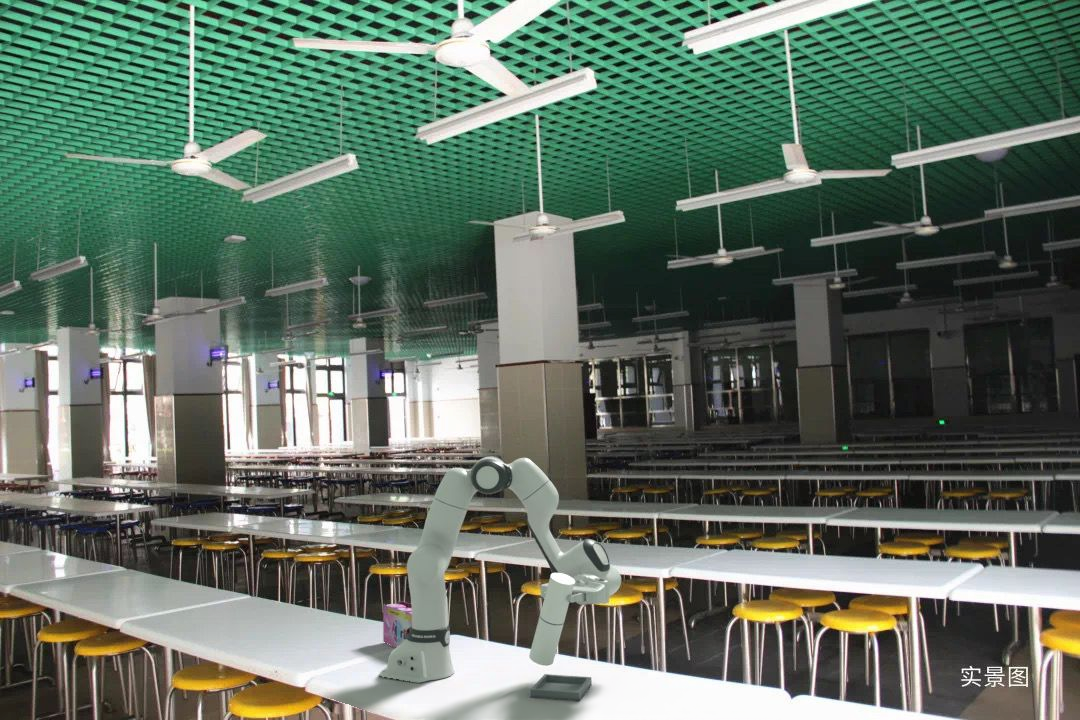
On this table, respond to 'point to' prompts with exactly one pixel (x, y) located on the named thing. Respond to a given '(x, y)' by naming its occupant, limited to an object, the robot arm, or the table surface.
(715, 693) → the table surface
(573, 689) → the tray
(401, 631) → the pink product box
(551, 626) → the cylindrical container
